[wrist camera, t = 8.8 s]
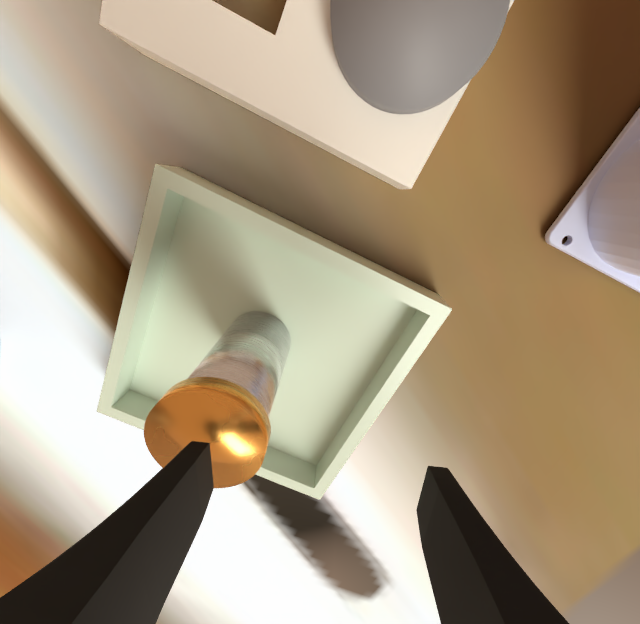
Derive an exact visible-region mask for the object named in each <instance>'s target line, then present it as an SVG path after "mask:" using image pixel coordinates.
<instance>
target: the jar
mask: <svg viewBox="0 0 640 624" xmlns="http://www.w3.org/2000/svg"><path fill="white" fill-rule="evenodd" d="M290 348H291V337H290V333H289V331H288V329H287V327H286V326H285V325H284V323H283V322H282V321H281V320H280V319H278V318H277V317H275V316H274V315H272V314H269V313H266V312H262V311H251V312H247V313H244V314H242V315H240V316H239V317H237V318H236V319H235V320H234V321H233V323H232V324H231V325H230V326H229V328H228V329H227V330H226V331H225V332H224V334H223V335H222V336H221V337H220V339H219V340H218V341H217V342H216V344H215V345H214V346H213V347H212V349H211V350H210V351H209V352H208V354H207V355H206V356H205V357H204V359H203V360H202V361H201V362H200V364H199V365H198V366H197V367H196V369H195V370H194V371H193V372H192V373H191V375H190V376H189V377H188V378H187V379H186V380H183V381H181V382H179V383H177V384H175V385H174V386H172V387H171V388H170V389H169V390H168V391H167V392H166V393H165V394H164V395H163V397H162V398H161V399H160V400H159V401H158V402H157V404H156V405H155V406H154V407H153V408H152V410H151V411H150V412H149V414H148V416H147V418H146V421H145V424H144V437H145V442H146V445H147V447H148V449H149V451H150V453H151V455H152V456H153V457H154V459H155V460H156V461H157V462H158V463H159V465H160V466H162V467H163V468H164V467H165V466H166V465H167V464H168V463H169V462H170V461H171V460H172V459H173V458H174V457H175V456H176V455H177V454H178V453H179V452H180V451H181V450H182V449H183V448H185V447H186V446H187V445H188V444H189V443H190V442H191V441H197V442H207V443H210V451H211V462H212V473H213V484H214V488H225V487H231V486H235V485H238V484H241V483H243V482H245V481H247V480H248V479H250V478H251V477H252V476H254V475H255V474H256V473H257V471H258V470H259V469H260V467H261V465H262V463H263V460H264V457H265V454H266V450H267V447H268V443H269V440H270V434H271V425H270V420H269V415H270V412H271V409H272V405H273V402H274V399H275V396H276V393H277V389H278V386H279V383H280V380H281V377H282V374H283V370H284V367H285V364H286V361H287V358H288V354H289V351H290Z"/></svg>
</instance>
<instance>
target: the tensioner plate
mask: <svg viewBox="0 0 640 624" xmlns="http://www.w3.org/2000/svg"><path fill="white" fill-rule="evenodd" d="M513 2H514V0H287V1H286V4H285V7H284V10H283V13H282V16H281V20H280V23H279V26H278V29H277V32H276V35H273V34H272V33H270V32H268V31H266V30H264V29H263V28H261V27H259V26H257V25H255V24H254V23H252V22H250V21H248V20H247V19H245V18H243V17H241V16H239V15H238V14H236V13H234V12H232V11H230V10H229V9H227V8H225V7H223V6H221V5H220V4H218V3H216V2H214V1H212V0H102V6H101V13H100V20H99V25H101V26H102V27H104V28H105V29H107V30H108V31H110V32H111V33H113V34H114V35H116V36H117V37H118V38H120V39H121V40H123V41H124V42H126V43H127V44H129V45H130V46H132V47H133V48H135V49H136V50H137V51H139V52H140V53H142V54H143V55H145V56H147V57H149V58H151V59H153V60H154V61H156V62H158V63H160V64H162V65H164V66H166V67H168V68H170V69H172V70H173V71H175V72H177V73H179V74H181V75H183V76H185V77H187V78H189V79H191V80H192V81H194V82H196V83H198V84H200V85H202V86H204V87H206V88H208V89H210V90H212V91H213V92H215V93H217V94H219V95H221V96H223V97H225V98H227V99H229V100H231V101H232V102H234V103H236V104H238V105H240V106H242V107H244V108H246V109H248V110H250V111H251V112H253V113H255V114H257V115H259V116H261V117H263V118H265V119H267V120H269V121H270V122H272V123H274V124H276V125H278V126H280V127H282V128H284V129H286V130H288V131H289V132H291V133H293V134H295V135H297V136H299V137H301V138H303V139H305V140H307V141H309V142H310V143H312V144H314V145H316V146H318V147H320V148H322V149H324V150H326V151H328V152H329V153H331V154H333V155H335V156H337V157H339V158H341V159H343V160H345V161H347V162H348V163H350V164H352V165H354V166H356V167H358V168H360V169H362V170H364V171H366V172H367V173H369V174H371V175H373V176H375V177H377V178H379V179H381V180H383V181H385V182H386V183H388V184H390V185H392V186H394V187H396V188H398V189H411V188H412V186H413V184H414V183H415V181H416V179H417V177H418V175H419V174H420V172H421V170H422V168H423V166H424V164H425V163H426V161H427V159H428V157H429V155H430V153H431V152H432V150H433V148H434V146H435V144H436V142H437V141H438V139H439V137H440V135H441V133H442V131H443V130H444V128H445V126H446V124H447V122H448V121H449V119H450V117H451V115H452V113H453V111H454V110H455V108H456V106H457V104H458V102H459V100H460V99H461V97H462V95H463V93H464V91H465V89H466V88H467V86H468V84H469V82H470V80H471V79H472V78H473V77H474V76H475V75H476V73H477V72H478V71H479V70H480V68H481V67H482V66H483V65H484V63H485V62H486V60H487V59H488V57H489V56H490V54H491V52H492V51H493V49H494V47H495V45H496V43H497V41H498V39H499V37H500V34H501V31H502V29H503V26H504V23H505V20H506V16H507V13H508V11H509V9H510V7H511V5H512V4H513Z"/></svg>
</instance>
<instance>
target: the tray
mask: <svg viewBox="0 0 640 624" xmlns="http://www.w3.org/2000/svg"><path fill="white" fill-rule="evenodd" d="M451 310H452V308H451V307H450V306H449V305H448V304H447V303H446V302H445V301H444V300H443V299H442V298H441V297H440V295H439V294H437V293H435V292H433V291H431V290H429V289H427V288H425V287H423V286H421V285H419V284H417V283H415V282H413V281H411V280H409V279H407V278H405V277H403V276H401V275H398V274H396V273H394V272H392V271H390V270H388V269H386V268H384V267H382V266H380V265H378V264H376V263H374V262H372V261H370V260H368V259H366V258H364V257H362V256H360V255H358V254H356V253H354V252H352V251H350V250H348V249H346V248H344V247H342V246H340V245H338V244H336V243H334V242H332V241H330V240H328V239H326V238H324V237H321V236H319V235H317V234H315V233H313V232H311V231H309V230H307V229H305V228H303V227H301V226H299V225H297V224H295V223H293V222H291V221H289V220H287V219H285V218H283V217H281V216H279V215H277V214H275V213H273V212H271V211H269V210H267V209H265V208H263V207H261V206H259V205H257V204H255V203H253V202H251V201H249V200H246V199H244V198H242V197H240V196H238V195H236V194H234V193H232V192H230V191H228V190H226V189H224V188H222V187H220V186H218V185H216V184H214V183H212V182H210V181H208V180H206V179H204V178H202V177H200V176H198V175H196V174H194V173H192V172H190V171H188V170H186V169H184V168H182V167H176V166H168V165H161V164H155V167H154V171H153V175H152V179H151V184H150V188H149V192H148V196H147V201H146V205H145V209H144V213H143V217H142V222H141V226H140V230H139V234H138V239H137V243H136V247H135V251H134V256H133V260H132V264H131V268H130V272H129V277H128V281H127V285H126V289H125V294H124V298H123V302H122V306H121V311H120V315H119V319H118V323H117V328H116V332H115V336H114V340H113V344H112V349H111V353H110V357H109V361H108V366H107V370H106V374H105V378H104V383H103V387H102V391H101V395H100V400H99V404H98V408H97V412H99V413H102V414H105V415H107V416H110V417H112V418H115V419H117V420H120V421H122V422H125V423H127V424H130V425H132V426H135V427H137V428H140V429H142V430H144V424H145V421H146V418H147V416H148V414H149V412H150V411H151V410H152V408H153V407H154V406H155V405H156V404H157V402H158V401H159V400H160V399H161V398H162V397H163V395H164V394H165V393H166V392H167V391H168V390H169V389H170V388H171V387H172V386H174V385H175V384H177V383H179V382H181V381H183V380H186V379H187V378H188V377H189V376H190V375H191V373H192V372H193V371H194V370H195V369H196V367H197V366H198V365H199V364H200V362H201V361H202V360H203V359H204V357H205V356H206V355H207V354H208V352H209V351H210V350H211V349H212V347H213V346H214V345H215V344H216V342H217V341H218V340H219V339H220V337H221V336H222V335H223V334H224V332H225V331H226V330H227V329H228V328H229V326H230V325H231V324H232V323H233V321H234V320H235V319H236V318H237V317H239V316H240V315H242V314H244V313H247V312H251V311H262V312H266V313H269V314H272V315H274V316H275V317H277V318H278V319H280V320H281V321H282V322H283V323H284V325H285V326H286V327H287V329H288V331H289V333H290V337H291V348H290V351H289V354H288V358H287V361H286V364H285V367H284V370H283V374H282V377H281V380H280V383H279V386H278V389H277V393H276V396H275V399H274V402H273V405H272V409H271V412H270V415H269V420H270V425H271V434H270V440H269V443H268V447H267V450H266V454H265V457H264V460H263V463H262V465H261V467H260V469H259V470H258V471H257V473H256V475H258V476H261V477H263V478H266V479H268V480H271V481H273V482H276V483H279V484H281V485H284V486H286V487H289V488H291V489H294V490H296V491H299V492H301V493H304V494H306V495H309V496H311V497H314V498H316V499H319V500H320V499H321V497H322V496H323V494H324V493H325V492H326V490H327V489H328V487H329V486H330V484H331V483H332V481H333V480H334V479H335V477H336V476H337V474H338V473H339V471H340V470H341V469H342V467H343V466H344V464H345V463H346V461H347V460H348V458H349V457H350V456H351V454H352V453H353V451H354V450H355V448H356V447H357V446H358V444H359V443H360V441H361V440H362V438H363V437H364V435H365V434H366V433H367V431H368V430H369V428H370V427H371V425H372V424H373V423H374V421H375V420H376V418H377V417H378V415H379V414H380V412H381V411H382V410H383V408H384V407H385V405H386V404H387V402H388V401H389V400H390V398H391V397H392V395H393V394H394V392H395V391H396V389H397V388H398V387H399V385H400V384H401V382H402V381H403V379H404V378H405V377H406V375H407V374H408V372H409V371H410V369H411V368H412V366H413V365H414V364H415V362H416V361H417V359H418V358H419V356H420V355H421V354H422V352H423V351H424V349H425V348H426V346H427V345H428V343H429V342H430V341H431V339H432V338H433V336H434V335H435V333H436V332H437V331H438V329H439V328H440V326H441V325H442V323H443V322H444V320H445V319H446V318H447V316H448V315H449V313H450V312H451Z"/></svg>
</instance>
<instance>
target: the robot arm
mask: <svg viewBox="0 0 640 624" xmlns="http://www.w3.org/2000/svg"><path fill="white" fill-rule="evenodd" d="M565 236H567V241H566V242H565V243H564V244H562V239H563V238H564V237H565ZM545 240H546V242H547V243H548V244H549V245H551V246H553V247H555V248H557V249H559V250H561V251H562V252H564V253H566V254H568V255H570V256H572V257H574V258H576V259H577V260H579V261H581V262H583V263H585V264H587V265H589V266H590V267H592V268H594V269H596V270H598V271H600V272H602V273H604V274H605V275H607V276H609V277H611V278H613V279H615V280H617V281H619V282H620V283H622V284H624V285H626V286H628V287H630V288H632V289H633V290H635V291H637V292H639V293H640V107H639V109H638V110H637V112H636V113H635V114H634V116H633V117H632V118H631V120H630V121H629V122H628V124H627V125H626V126H625V128H624V129H623V130H622V132H621V133H620V134H619V136H618V137H617V138H616V140H615V141H614V142H613V144H612V145H611V146H610V148H609V149H608V150H607V152H606V153H605V154H604V156H603V157H602V158H601V160H600V161H599V162H598V164H597V165H596V166H595V168H594V169H593V170H592V172H591V173H590V174H589V176H588V177H587V179H586V180H585V181H584V183H583V184H582V185H581V187H580V188H579V189H578V191H577V192H576V193H575V195H574V196H573V197H572V199H571V200H570V201H569V203H568V204H567V205H566V207H565V208H564V209H563V211H562V212H561V213H560V215H559V216H558V217H557V219H556V220H555V221H554V223H553V224H552V225H551V227H550V228H549V229H548V231H547V232H546V234H545ZM213 488H214V484H213V473H212V462H211V451H210V443H207V442H197V441H191V442H190V443H189V444H188V445H187V446H186V447H185V448H183V449H182V450H181V451H180V452H179V453H178V454H177V455H176V456H175V457H174V458H173V459H172V460H171V461H170V462H169V463H168V464H167V465H166V466H165V467H164V468H163V469H162V470H160V471H159V472H158V473H157V474H156V475H155V476H154V477H153V478H152V479H151V480H150V481H149V482H148V483H146V484H145V485H144V486H143V487H142V488H141V489H140V490H139V491H138V492H137V493H135V494H134V495H133V496H132V497H131V498H130V499H129V500H128V501H126V502H125V503H124V504H123V505H122V506H121V507H119V508H118V509H117V510H116V511H115V512H114V513H112V514H111V515H110V516H109V517H108V518H106V519H105V520H104V521H103V522H102V523H101V524H99V525H98V526H97V527H96V528H95V529H93V530H92V531H91V532H90V533H88V534H87V535H86V536H85V537H83V538H82V539H81V540H79V541H78V542H77V543H76V544H74V545H73V546H72V547H70V548H69V549H68V550H66V551H65V552H64V553H62V554H61V555H60V556H59V557H57V558H56V559H55V560H53V561H52V562H50V563H49V564H48V565H46V566H45V567H44V568H42V569H41V570H39V571H38V572H37V573H35V574H34V575H32V576H31V577H30V578H28V579H27V580H25V581H24V582H23V583H21V584H20V585H18V586H17V587H15V588H14V589H12V590H11V591H10V592H8V593H7V594H5V595H4V596H2V597H1V598H0V624H156V621H157V619H158V617H159V614H160V612H161V610H162V607H163V605H164V603H165V601H166V598H167V596H168V594H169V592H170V590H171V588H172V585H173V583H174V581H175V579H176V577H177V575H178V572H179V570H180V568H181V566H182V564H183V562H184V559H185V557H186V555H187V553H188V551H189V549H190V547H191V544H192V542H193V540H194V538H195V536H196V533H197V531H198V529H199V527H200V525H201V522H202V520H203V517H204V514H205V511H206V509H207V506H208V503H209V500H210V497H211V494H212V491H213ZM417 516H418V523H419V530H420V537H421V543H422V548H423V553H424V557H425V561H426V565H427V569H428V573H429V577H430V581H431V585H432V589H433V593H434V597H435V601H436V605H437V609H438V613H439V617H440V621H441V624H569V623H568V622H567V621H566V620H565V618H564V617H563V616H562V615H561V614H560V613H559V612H558V611H557V610H556V608H555V607H554V606H553V605H552V604H551V603H550V602H549V600H548V599H547V598H546V597H545V596H544V595H543V593H542V592H541V591H540V590H539V589H538V587H537V586H536V585H535V584H534V583H533V582H532V580H531V579H530V578H529V577H528V575H527V574H526V573H525V572H524V570H523V569H522V568H521V567H520V566H519V564H518V563H517V562H516V561H515V559H514V558H513V557H512V556H511V554H510V553H509V552H508V550H507V549H506V548H505V547H504V545H503V544H502V543H501V541H500V540H499V539H498V537H497V536H496V535H495V533H494V532H493V531H492V529H491V528H490V527H489V526H488V524H487V523H486V521H485V520H484V519H483V517H482V516H481V515H480V513H479V512H478V510H477V509H476V508H475V506H474V505H473V503H472V502H471V501H470V499H469V498H468V496H467V495H466V494H465V492H464V491H463V489H462V488H461V486H460V485H459V484H458V482H457V481H456V479H455V478H454V476H453V475H452V473H451V472H450V471H449V469H448V468H443V467H434V466H428V468H427V472H426V476H425V480H424V483H423V487H422V491H421V495H420V499H419V503H418V506H417Z"/></svg>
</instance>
